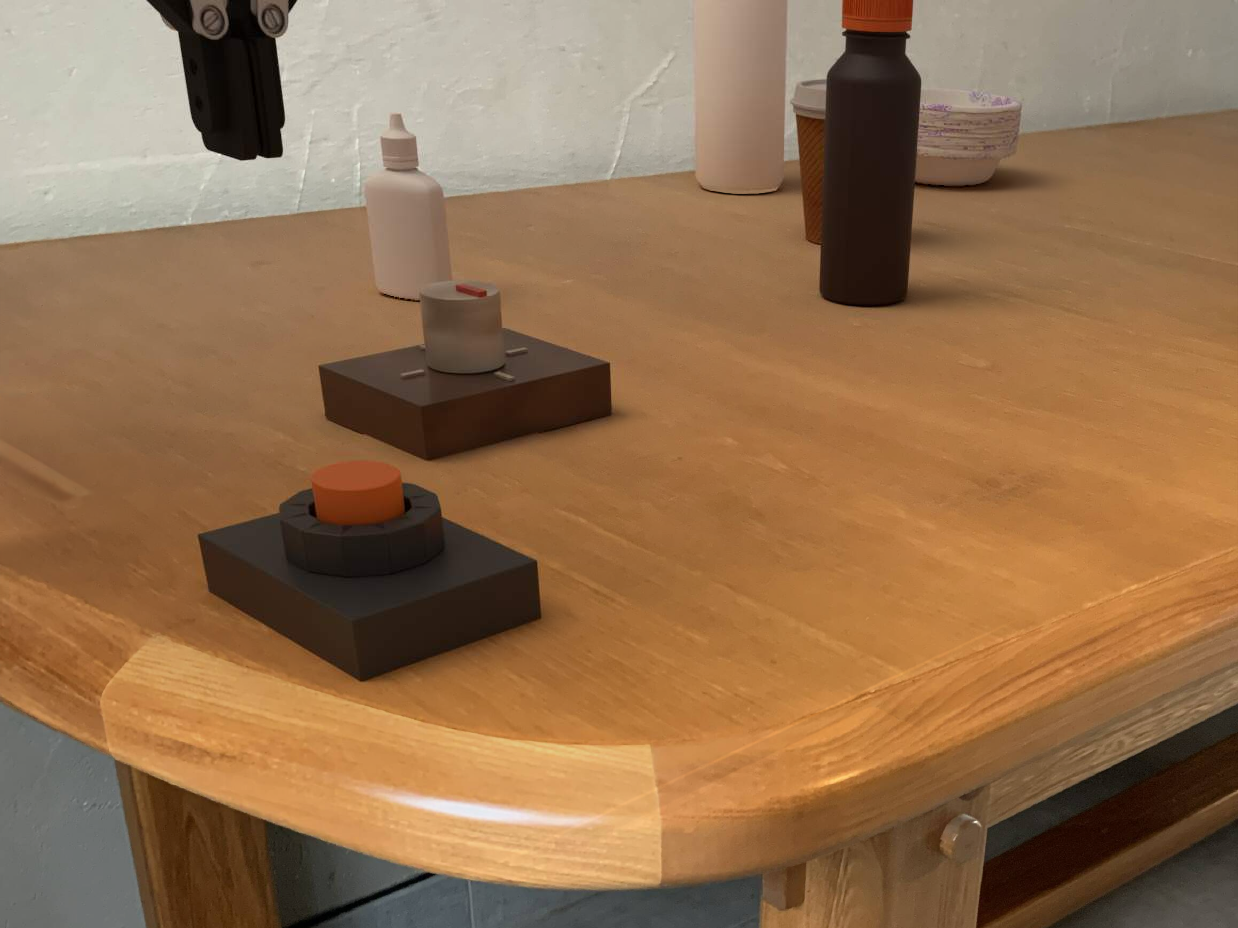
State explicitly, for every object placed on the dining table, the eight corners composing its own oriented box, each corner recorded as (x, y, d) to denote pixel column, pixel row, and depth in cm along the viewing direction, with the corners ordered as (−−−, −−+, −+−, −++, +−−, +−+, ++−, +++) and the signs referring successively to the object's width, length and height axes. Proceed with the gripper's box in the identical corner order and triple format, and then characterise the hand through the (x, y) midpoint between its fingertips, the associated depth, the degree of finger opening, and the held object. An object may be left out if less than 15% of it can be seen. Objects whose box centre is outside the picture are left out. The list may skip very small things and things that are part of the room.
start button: (347, 537, 61) (341, 495, 60) (300, 513, 63) (293, 472, 62) (422, 516, 64) (417, 475, 63) (374, 493, 66) (368, 454, 65)
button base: (361, 683, 60) (345, 576, 57) (208, 592, 66) (188, 493, 64) (542, 619, 65) (535, 519, 63) (384, 541, 72) (372, 447, 69)
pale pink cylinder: (777, 179, 155) (784, -176, 138) (788, 196, 148) (797, -177, 131) (692, 178, 154) (689, -180, 137) (698, 195, 147) (696, -182, 130)
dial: (410, 361, 86) (402, 282, 84) (473, 348, 89) (466, 271, 86) (457, 378, 84) (450, 297, 81) (520, 364, 86) (515, 285, 84)
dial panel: (427, 462, 81) (420, 403, 79) (325, 418, 87) (317, 362, 85) (612, 414, 89) (610, 359, 87) (508, 376, 95) (504, 324, 93)
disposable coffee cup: (781, 247, 129) (784, 89, 122) (793, 225, 136) (797, 75, 130) (892, 253, 128) (902, 95, 121) (898, 231, 136) (908, 81, 129)
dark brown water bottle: (861, 281, 119) (875, -12, 108) (925, 298, 115) (947, -5, 104) (800, 293, 115) (808, -10, 104) (864, 311, 111) (881, -2, 100)
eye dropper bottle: (424, 283, 114) (405, 106, 107) (460, 299, 110) (443, 116, 104) (370, 290, 112) (347, 110, 105) (405, 306, 108) (385, 120, 101)
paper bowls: (1041, 180, 160) (1050, 96, 156) (962, 198, 150) (970, 109, 146) (922, 161, 168) (928, 81, 163) (840, 177, 158) (844, 92, 153)
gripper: (304, -442, 54) (360, 126, 64) (-149, -526, 45) (2, 153, 55) (426, -454, 50) (465, 154, 60) (-46, -550, 41) (96, 188, 51)
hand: (243, 152), depth 58 cm, fingers closed
